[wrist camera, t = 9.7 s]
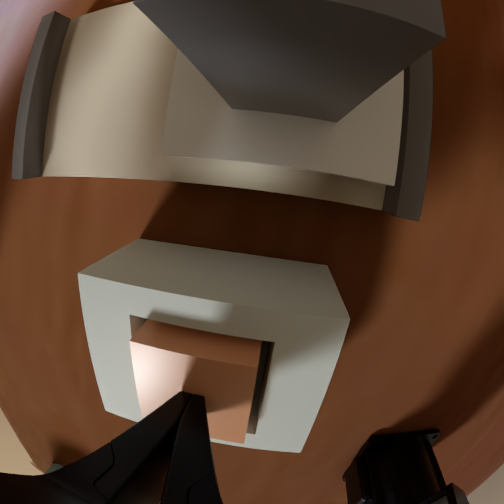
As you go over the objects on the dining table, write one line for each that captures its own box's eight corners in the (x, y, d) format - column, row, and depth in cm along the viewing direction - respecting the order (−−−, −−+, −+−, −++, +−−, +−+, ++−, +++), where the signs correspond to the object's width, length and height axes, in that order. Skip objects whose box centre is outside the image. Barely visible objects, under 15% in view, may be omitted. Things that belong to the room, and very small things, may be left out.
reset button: (265, 306, 12) (257, 367, 8) (253, 379, 13) (243, 443, 9) (171, 290, 12) (129, 340, 8) (172, 363, 13) (142, 420, 9)
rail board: (403, 34, 9) (427, 9, 6) (390, 209, 12) (419, 221, 9) (73, 31, 10) (42, 16, 7) (48, 174, 13) (11, 179, 10)
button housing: (327, 265, 13) (350, 319, 8) (298, 382, 15) (300, 452, 10) (138, 238, 13) (77, 272, 9) (144, 354, 15) (105, 410, 11)
